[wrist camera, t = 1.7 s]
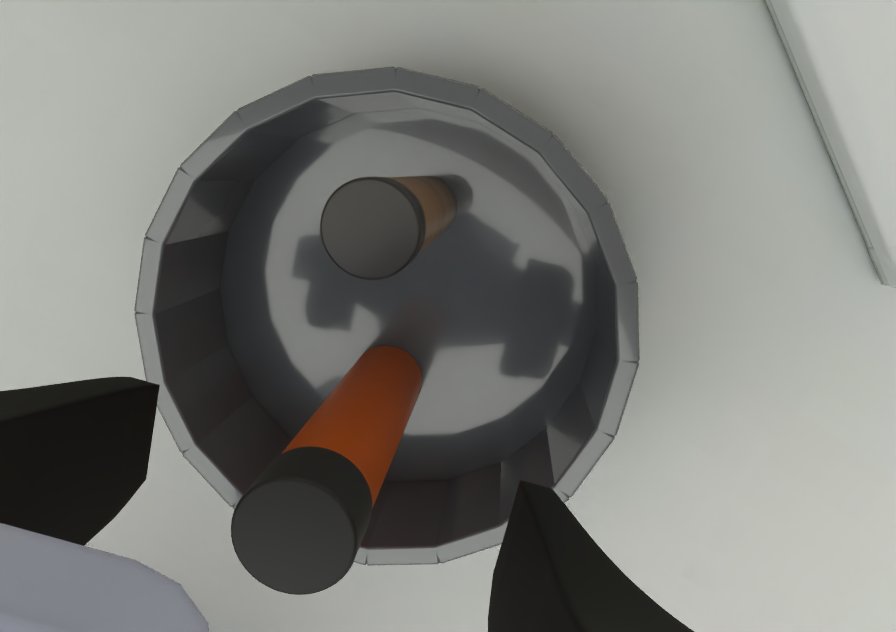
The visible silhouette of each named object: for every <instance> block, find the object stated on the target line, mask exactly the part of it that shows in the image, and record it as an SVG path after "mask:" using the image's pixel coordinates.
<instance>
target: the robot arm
mask: <svg viewBox="0 0 896 632" xmlns="http://www.w3.org/2000/svg"><path fill="white" fill-rule="evenodd" d="M159 387H160V385H158V384H154V383H151V382H147V381H143V380H139V379H135V378H132V377H109V378H99V379H90V380H83V381H75V382H68V383H61V384H54V385H47V386H40V387H33V388H25V389H17V390H8V391H0V632H209V627H208V622H207V621H206V619H205V618H204V617H203V615H202V614H201V612H200V611H199V610H198V608H197V607H196V606H195V604H194V603H193V601H192V600H191V599H190V597H189V596H188V595H187V593H186V592H185V590H184V589H183V588H182V586H181V585H180V584H179V583H177V582H175V581H174V580H172V579H170V578H168V577H166V576H164V575H162V574H161V573H159V572H157V571H155V570H153V569H151V568H149V567H148V566H146V565H144V564H142V563H140V562H138V561H136V560H133V559H130V558H126V557H122V556H119V555H115V554H111V553H108V552H104V551H101V550H97V549H93V548H90V547H86V546H84V545H85V544H86V543H87V542H88V541H90V540H91V539H92V538H93V537H94V536H95V535H96V534H97V533H98V532H99V531H100V530H102V529H103V528H104V527H105V526H106V525H107V524H108V523H109V522H110V521H111V520H112V519H113V518H114V517H115V516H116V515H117V514H118V513H119V512H120V510H121V509H122V508H123V507H124V506H125V505H126V504H127V502H128V501H129V500H130V499H131V497H132V496H133V495H134V494H135V492H136V491H137V490H138V489H139V487H140V486H141V485H142V484H143V482H144V481H145V480H146V475H147V469H148V462H149V455H150V448H151V441H152V434H153V428H154V421H155V414H156V407H157V400H158V393H159ZM488 632H694V631H692V630H691V629H689V628H688V627H687V626H685V625H684V624H683V623H681V622H680V621H678V620H677V619H676V618H674V617H673V616H672V615H670V614H669V613H668V612H667V611H665V610H664V609H663V608H662V607H660V606H659V605H658V604H657V603H656V602H655V601H653V600H652V599H651V598H650V597H649V596H648V595H647V594H645V593H644V592H643V591H642V590H641V589H640V588H639V587H637V586H636V585H635V584H634V583H633V582H632V581H631V580H630V579H629V578H628V577H627V576H626V575H625V574H624V573H623V572H622V571H621V570H620V569H619V568H618V567H617V566H616V565H615V564H614V563H613V562H612V561H611V559H610V558H609V557H608V556H607V555H606V554H605V553H604V552H603V551H602V550H601V548H600V547H599V546H598V545H597V544H596V543H595V542H594V540H593V539H592V538H591V537H590V536H589V534H588V533H587V532H586V531H585V529H584V528H583V527H582V526H581V524H580V523H579V522H578V521H577V519H576V518H575V517H574V515H573V514H572V513H571V512H570V510H569V509H568V508H567V506H566V505H565V504H564V502H563V501H562V500H561V499H560V497H559V496H558V495H557V494H556V493H555V491H554V490H553V489H552V488H548V487H544V486H541V485H537V484H533V483H529V482H526V481H522V480H520V482H519V486H518V489H517V493H516V496H515V500H514V503H513V507H512V510H511V514H510V517H509V521H508V524H507V527H506V531H505V534H504V538H503V541H502V545H501V548H500V552H499V555H498V559H497V562H496V566H495V569H494V573H493V580H492V588H491V597H490V606H489V615H488Z"/></svg>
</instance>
